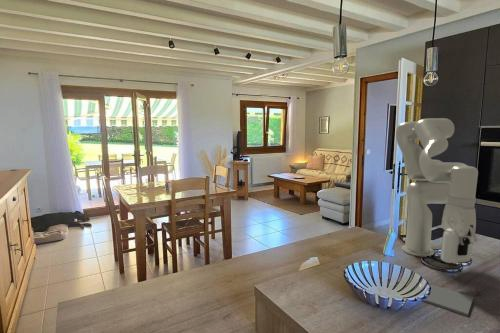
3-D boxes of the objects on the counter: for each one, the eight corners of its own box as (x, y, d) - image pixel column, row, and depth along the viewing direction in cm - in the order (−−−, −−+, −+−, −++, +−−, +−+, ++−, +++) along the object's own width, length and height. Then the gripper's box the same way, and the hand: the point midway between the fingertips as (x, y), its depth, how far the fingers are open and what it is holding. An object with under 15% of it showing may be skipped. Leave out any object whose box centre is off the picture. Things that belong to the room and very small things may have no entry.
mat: (430, 286, 104) (430, 284, 104) (473, 299, 96) (473, 297, 96) (421, 300, 95) (421, 298, 95) (467, 316, 87) (467, 313, 87)
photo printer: (461, 256, 110) (465, 223, 108) (472, 261, 106) (476, 227, 104) (438, 258, 108) (441, 225, 106) (448, 264, 103) (452, 230, 102)
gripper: (433, 196, 111) (429, 242, 114) (472, 209, 95) (466, 263, 97) (451, 195, 112) (447, 241, 115) (493, 208, 96) (487, 262, 98)
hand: (456, 251), depth 106 cm, fingers closed on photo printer, 4 cm apart
